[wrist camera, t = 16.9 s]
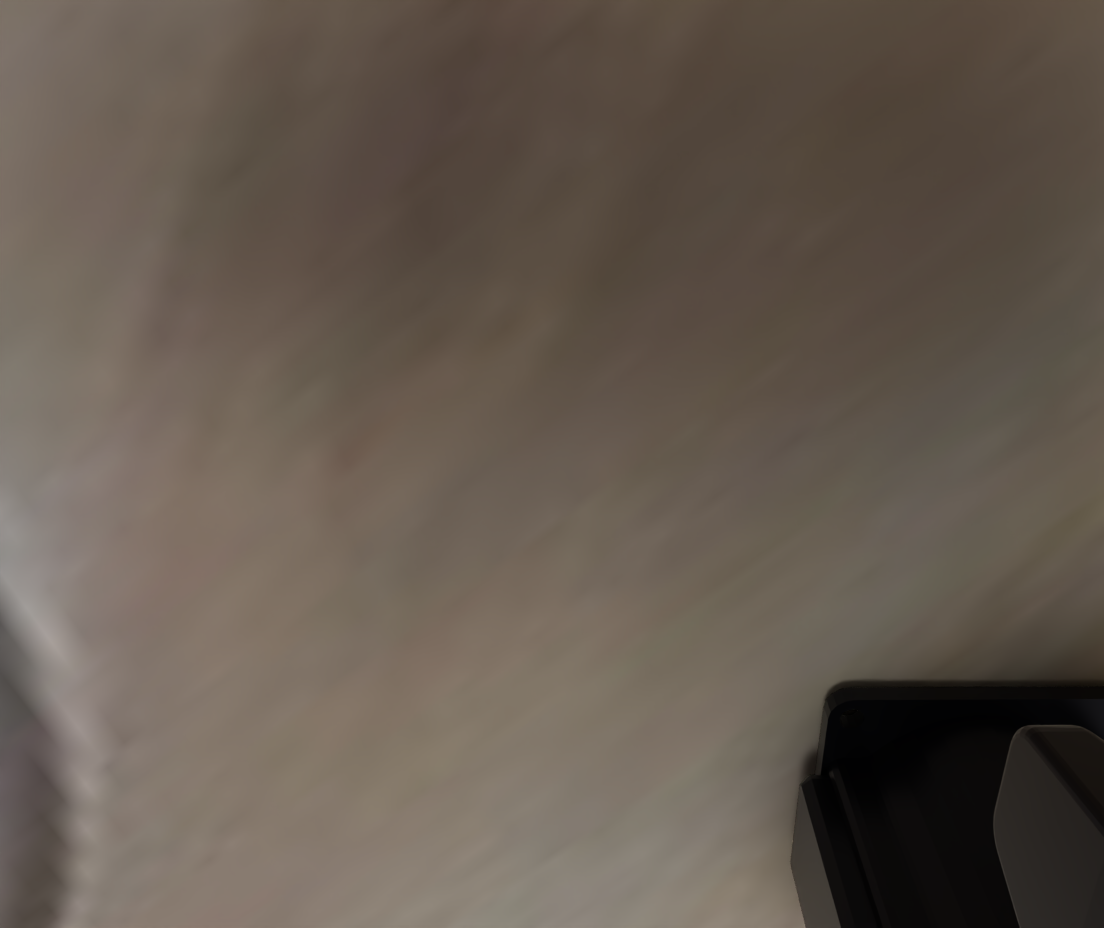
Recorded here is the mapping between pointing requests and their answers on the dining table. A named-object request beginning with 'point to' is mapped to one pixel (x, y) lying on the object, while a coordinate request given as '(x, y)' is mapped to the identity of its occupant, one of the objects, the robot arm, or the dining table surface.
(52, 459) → the dining table surface
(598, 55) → the dining table surface
